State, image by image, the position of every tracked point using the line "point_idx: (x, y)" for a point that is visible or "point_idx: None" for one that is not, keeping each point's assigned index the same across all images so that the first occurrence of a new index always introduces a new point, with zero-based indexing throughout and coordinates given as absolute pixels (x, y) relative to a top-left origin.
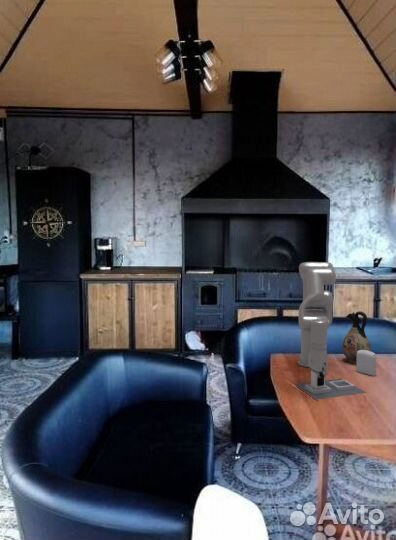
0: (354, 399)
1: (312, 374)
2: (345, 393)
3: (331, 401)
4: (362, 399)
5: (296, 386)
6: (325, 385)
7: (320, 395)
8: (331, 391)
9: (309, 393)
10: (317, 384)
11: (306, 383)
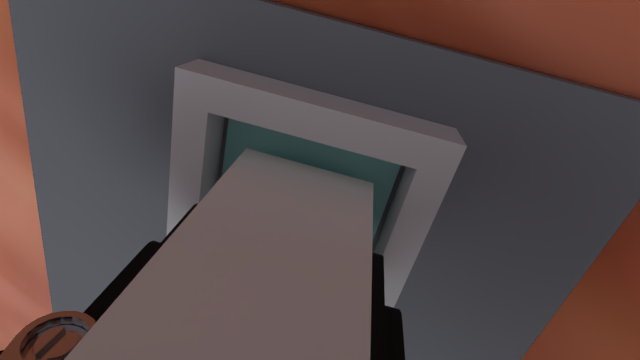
0: (16, 306)
1: (288, 357)
2: None
3: (5, 109)
4: (6, 344)
5: (630, 98)
6: None
7: (121, 95)
8: None
9: (244, 10)
10: None
11: (554, 270)
